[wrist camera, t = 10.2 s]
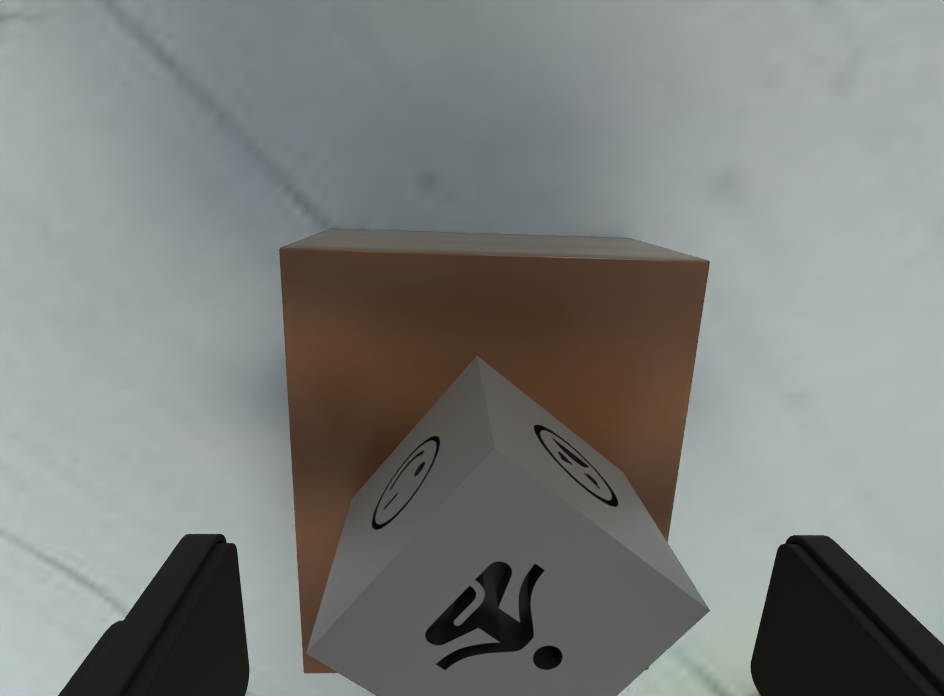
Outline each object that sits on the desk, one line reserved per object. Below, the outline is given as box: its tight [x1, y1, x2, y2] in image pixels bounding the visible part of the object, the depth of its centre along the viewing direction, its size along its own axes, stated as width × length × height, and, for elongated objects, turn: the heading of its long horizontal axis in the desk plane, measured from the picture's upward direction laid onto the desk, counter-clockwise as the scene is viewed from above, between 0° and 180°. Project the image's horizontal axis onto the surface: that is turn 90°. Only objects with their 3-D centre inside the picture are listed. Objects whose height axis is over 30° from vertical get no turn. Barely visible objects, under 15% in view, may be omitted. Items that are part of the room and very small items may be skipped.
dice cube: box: [306, 356, 710, 696], centre depth 12 cm, size 5×5×5 cm
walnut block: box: [279, 228, 710, 673], centre depth 18 cm, size 12×10×6 cm
